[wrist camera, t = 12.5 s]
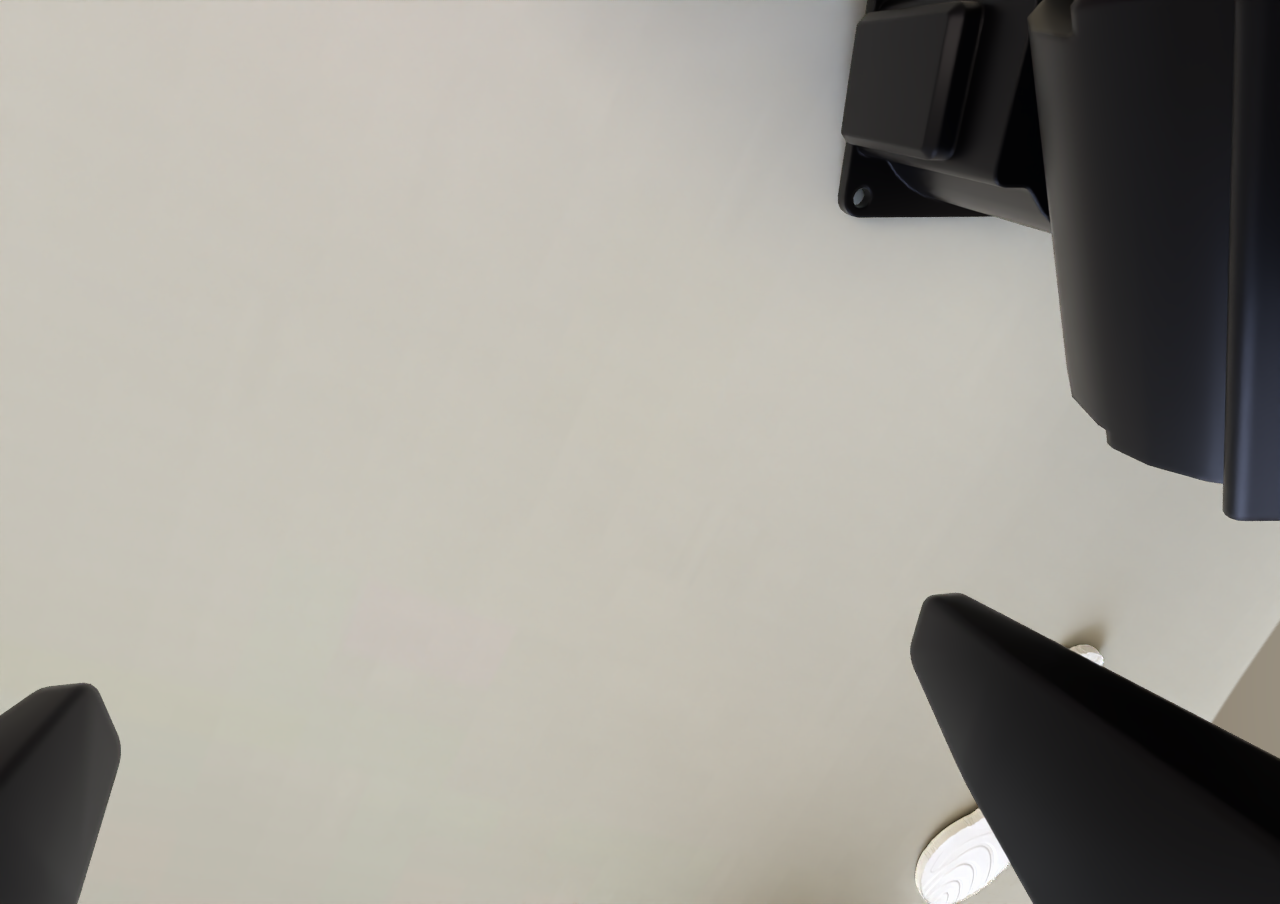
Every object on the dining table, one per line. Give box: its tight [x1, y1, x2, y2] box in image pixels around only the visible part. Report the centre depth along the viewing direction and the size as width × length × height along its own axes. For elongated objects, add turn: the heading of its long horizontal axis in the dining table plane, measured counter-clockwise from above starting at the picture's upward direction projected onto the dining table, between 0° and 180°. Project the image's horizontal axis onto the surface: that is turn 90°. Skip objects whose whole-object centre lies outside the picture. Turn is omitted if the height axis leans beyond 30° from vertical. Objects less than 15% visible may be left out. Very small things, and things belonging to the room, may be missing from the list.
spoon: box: [915, 645, 1105, 904], centre depth 34 cm, size 5×18×1 cm, turn 171°
